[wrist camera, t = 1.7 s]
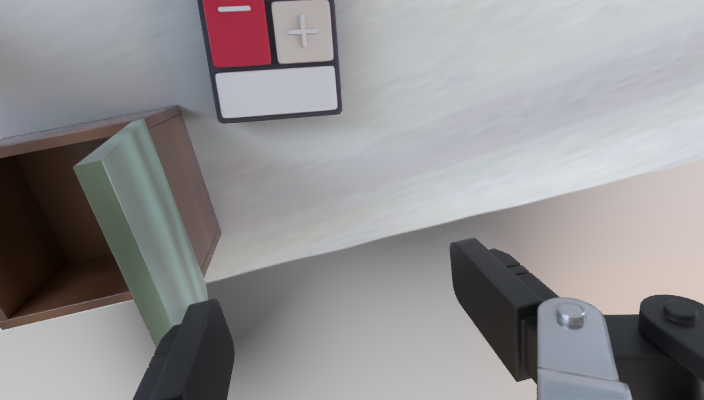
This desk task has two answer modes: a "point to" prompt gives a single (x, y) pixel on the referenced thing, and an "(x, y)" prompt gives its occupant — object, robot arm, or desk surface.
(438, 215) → the desk surface
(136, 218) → the lid
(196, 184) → the chest
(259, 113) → the calculator
